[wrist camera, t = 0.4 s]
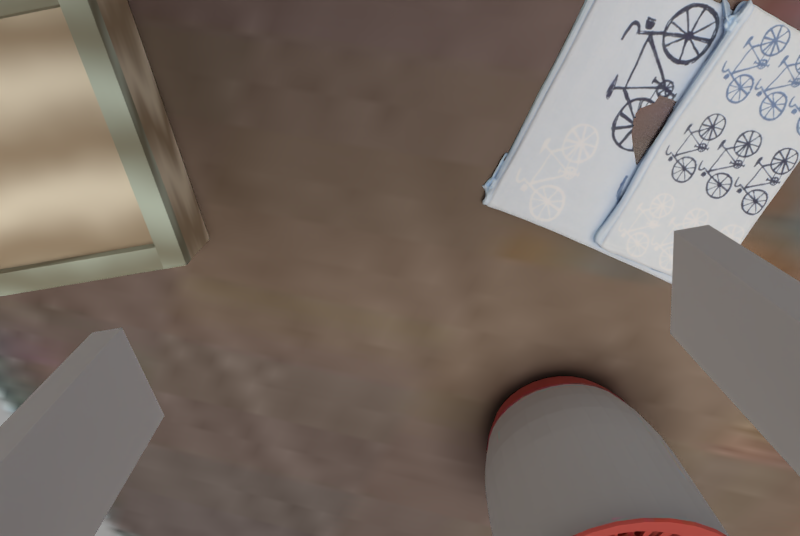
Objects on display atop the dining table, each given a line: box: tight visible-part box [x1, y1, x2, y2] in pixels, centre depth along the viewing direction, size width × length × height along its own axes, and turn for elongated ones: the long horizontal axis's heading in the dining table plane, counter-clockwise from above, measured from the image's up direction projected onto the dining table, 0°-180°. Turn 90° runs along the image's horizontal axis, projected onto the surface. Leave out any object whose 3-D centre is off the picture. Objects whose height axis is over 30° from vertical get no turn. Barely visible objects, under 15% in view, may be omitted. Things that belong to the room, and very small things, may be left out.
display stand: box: [0, 0, 210, 296], centre depth 35 cm, size 18×18×5 cm
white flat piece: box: [482, 0, 800, 284], centre depth 37 cm, size 19×20×2 cm
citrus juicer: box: [485, 376, 729, 536], centre depth 39 cm, size 16×17×20 cm
